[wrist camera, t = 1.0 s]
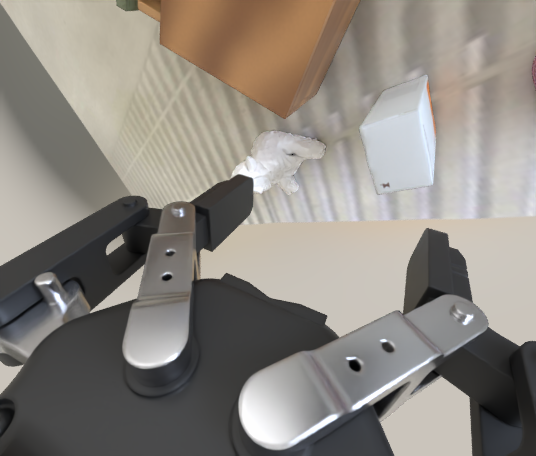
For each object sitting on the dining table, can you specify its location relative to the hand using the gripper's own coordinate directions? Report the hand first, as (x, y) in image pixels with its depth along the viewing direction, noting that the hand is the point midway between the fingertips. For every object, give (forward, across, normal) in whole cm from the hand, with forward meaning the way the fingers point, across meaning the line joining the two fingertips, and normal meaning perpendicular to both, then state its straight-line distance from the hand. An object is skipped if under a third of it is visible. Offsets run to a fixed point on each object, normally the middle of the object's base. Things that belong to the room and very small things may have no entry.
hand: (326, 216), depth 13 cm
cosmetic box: (+23, -2, -1) cm, 23 cm away
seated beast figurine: (+24, +11, +7) cm, 27 cm away
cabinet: (+22, +13, -9) cm, 27 cm away
